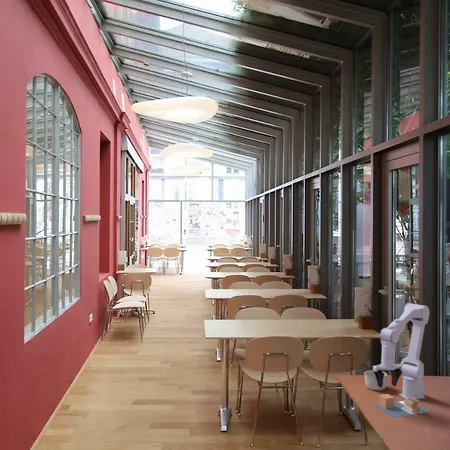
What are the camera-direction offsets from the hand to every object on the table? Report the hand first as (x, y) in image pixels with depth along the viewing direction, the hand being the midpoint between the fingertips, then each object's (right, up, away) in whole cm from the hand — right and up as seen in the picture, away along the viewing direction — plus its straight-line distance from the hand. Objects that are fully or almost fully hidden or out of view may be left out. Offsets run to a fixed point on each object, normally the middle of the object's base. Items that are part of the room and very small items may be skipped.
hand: (386, 386), depth 215 cm
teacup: (+3, -10, +25) cm, 27 cm away
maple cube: (+10, -9, -4) cm, 14 cm away
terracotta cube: (0, -9, 0) cm, 9 cm away
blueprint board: (+6, -10, -2) cm, 12 cm away
